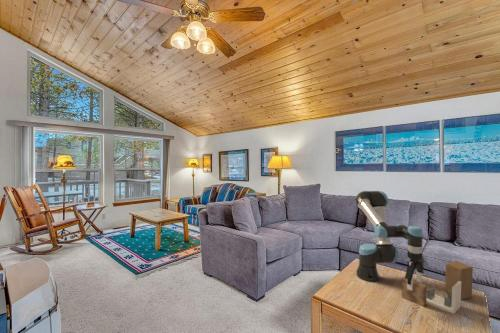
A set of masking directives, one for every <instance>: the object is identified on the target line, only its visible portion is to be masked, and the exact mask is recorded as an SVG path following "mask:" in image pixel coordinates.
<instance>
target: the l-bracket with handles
mask: <svg viewBox="0 0 500 333" xmlns="http://www.w3.org/2000/svg"><path fill="white" fill-rule="evenodd" d="M426 304H429V305H431V306H433V307H436V308H438V309H440V310H443V311H446V312H447V313H451V314H453V315H454V314H456V313H457V311H459V309H460V308H461V306H462V300H461V282H460V281H458V282H457V283H456V284H455V285H454V286H453V287H452V295H451V294H449V293H447V297H446V296H444V297H442V296H440V295H437V294H436V288H434V287H430V288H429V290H428V289H427V296H426Z"/></svg>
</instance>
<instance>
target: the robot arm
mask: <svg viewBox="0 0 500 333" xmlns="http://www.w3.org/2000/svg"><path fill="white" fill-rule="evenodd" d="M355 203H356V206H357V207H358V208H359V209H360V210H361V211H362V212H363V213H364V215H365V216H366V217H367V218H368V220H369V221H370V223H371V224H372V225H373V227H374V229H373V230H374V231H373V232H374V233H375V234H374V235H375V237H376V240H377V241H376V243H375V244H373V243H363V244H361V245H360V246H359V249H358V257H359V258H358V267H357V270H356V276H357V278H359V279H360V280H362V281H363V280H364V281H367V282H377V281H379V280H380V274H379V271H378V268H377V264H394V263H397V261H398V259H399V256H400V255H399V254H400V253H399V249H398V248H397V247H396V246H394V243H392V242H391V239H392V238H393V239H394V238H395V239H396V238H399V239H400V238H403V239H406V240H407V246H406V247H407V258H408V259H410V260H409V261H407V267H406V271H405V276H404V278H407V289H409V290H413V280H414V279H413V276H414V273H415V270H416V276H415V277H416V280H415V281H416V282H419V283H422V284H423V277H422V276H423V274H424V265H423V261H422V260H423V251H424V248H423V236H424V234H423V229H422V227H420V226H417V225H409V226H407V225H404V224H403V223H401V224H400V223H398V224H396V225H388V222H387V217H386V212H385V209H386V208H387V205H388V204H389V199H388V195H387V193H385V192H384V191H380V190H365V191H364V190H363V191H360V192H358V193H357V195H356V196H355ZM390 238H391V239H390Z"/></svg>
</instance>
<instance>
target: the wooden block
mask: <svg viewBox="0 0 500 333" xmlns="http://www.w3.org/2000/svg"><path fill="white" fill-rule="evenodd" d="M473 270H474V269H473V267H472V266H471V265H467V264H465V263H462V262H460V261H457V260H455V261H450V262H446V263H445V282H444V286H445V289H444V292H445V293H447V294H450V295H452V287H453V286H454V285H455V284H456V283H457V282H458V281H460V282H461V301H463V300H466V299H470V298H472V297H473V273H474V272H473Z"/></svg>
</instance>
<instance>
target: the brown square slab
mask: <svg viewBox="0 0 500 333" xmlns="http://www.w3.org/2000/svg"><path fill="white" fill-rule="evenodd" d="M427 287H428V286H427V284H424V283H423V282H422V283H419V282H416V280H414V279H413V290H409V289H407V278H405V277H403V278H402V279H401V299H404V300H406V301H408V302H411V303H413V304H416V305H418V306H420V307H423V308H424V307H426V305H427V303H426V296H427V290H428V288H427Z"/></svg>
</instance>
